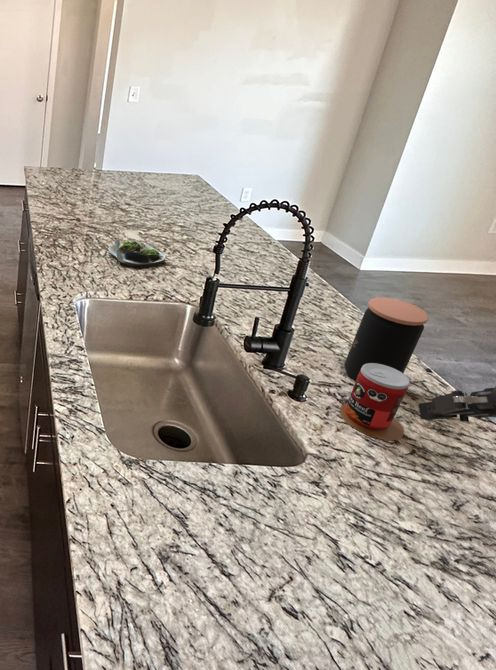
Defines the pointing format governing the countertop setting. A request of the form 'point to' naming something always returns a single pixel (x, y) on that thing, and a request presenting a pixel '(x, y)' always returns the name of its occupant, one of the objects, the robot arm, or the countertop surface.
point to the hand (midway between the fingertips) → (423, 411)
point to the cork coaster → (389, 433)
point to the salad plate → (136, 254)
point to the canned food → (376, 396)
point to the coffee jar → (386, 335)
